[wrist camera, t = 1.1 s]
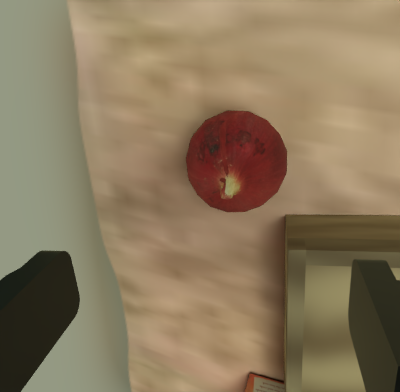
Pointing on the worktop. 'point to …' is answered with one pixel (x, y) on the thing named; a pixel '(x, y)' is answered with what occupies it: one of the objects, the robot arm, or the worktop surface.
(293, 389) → the tray
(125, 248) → the worktop surface
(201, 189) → the onion
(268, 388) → the cracker box
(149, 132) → the worktop surface
